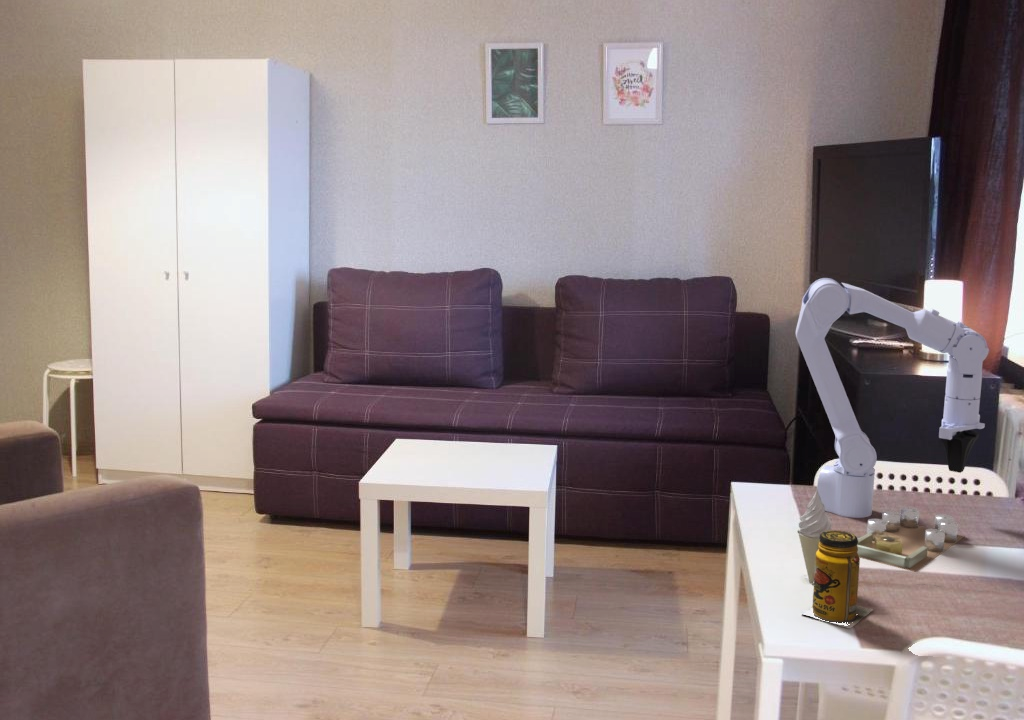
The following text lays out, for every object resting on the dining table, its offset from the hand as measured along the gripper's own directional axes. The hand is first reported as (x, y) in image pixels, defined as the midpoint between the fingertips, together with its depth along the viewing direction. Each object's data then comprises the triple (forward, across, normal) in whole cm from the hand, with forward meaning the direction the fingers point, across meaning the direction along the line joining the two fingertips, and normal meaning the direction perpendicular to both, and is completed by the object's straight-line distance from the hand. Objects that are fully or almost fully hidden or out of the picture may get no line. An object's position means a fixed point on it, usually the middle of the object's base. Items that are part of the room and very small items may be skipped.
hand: (956, 471), depth 190 cm
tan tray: (+10, -20, +1) cm, 22 cm away
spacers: (+9, -15, +1) cm, 17 cm away
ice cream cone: (+10, -43, +6) cm, 45 cm away
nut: (+9, -26, +1) cm, 27 cm away
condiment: (+10, -51, -2) cm, 52 cm away
